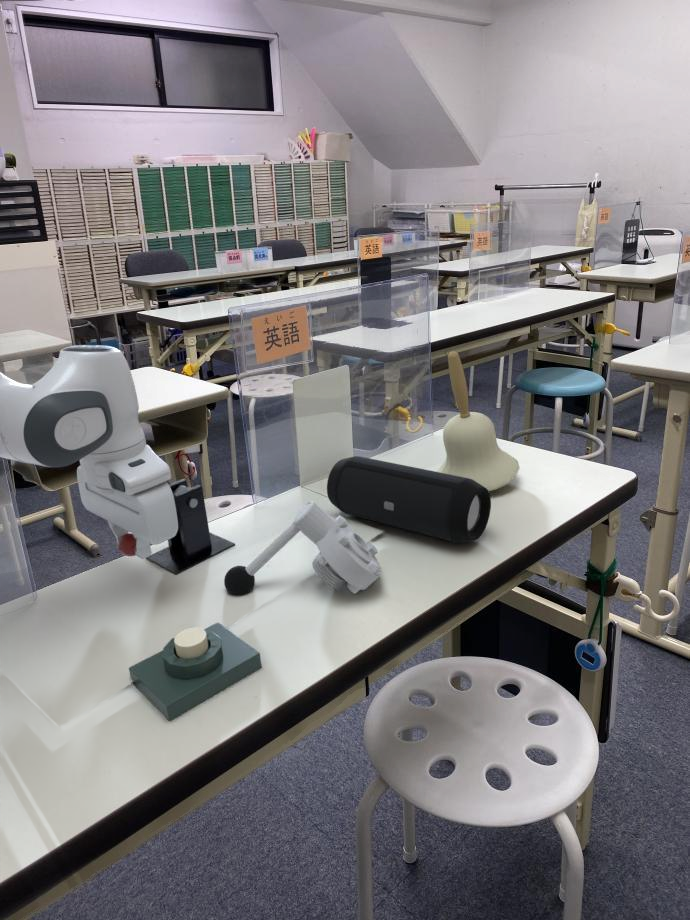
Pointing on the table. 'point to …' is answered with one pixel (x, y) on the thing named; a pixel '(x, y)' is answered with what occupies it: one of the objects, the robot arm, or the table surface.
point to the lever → (128, 539)
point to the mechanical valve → (335, 562)
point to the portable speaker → (410, 498)
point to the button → (191, 643)
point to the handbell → (473, 440)
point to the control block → (194, 672)
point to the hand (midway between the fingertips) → (135, 551)
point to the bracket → (189, 533)
